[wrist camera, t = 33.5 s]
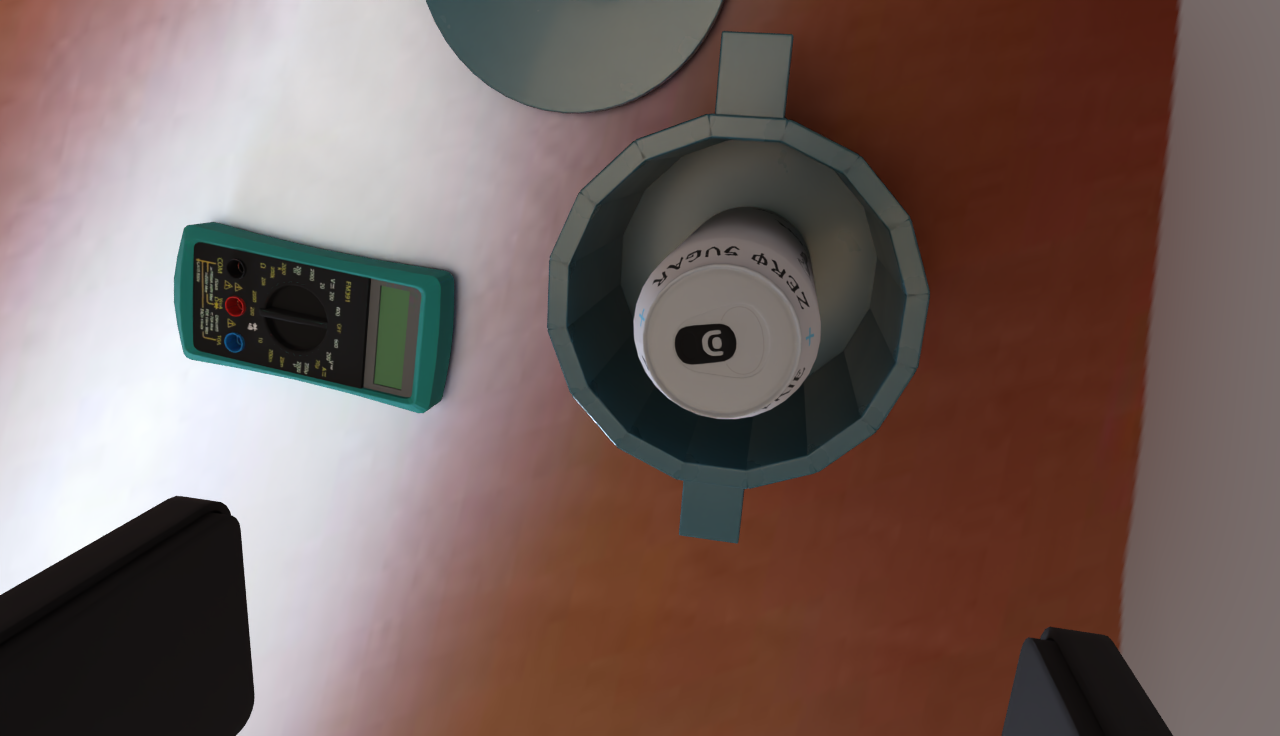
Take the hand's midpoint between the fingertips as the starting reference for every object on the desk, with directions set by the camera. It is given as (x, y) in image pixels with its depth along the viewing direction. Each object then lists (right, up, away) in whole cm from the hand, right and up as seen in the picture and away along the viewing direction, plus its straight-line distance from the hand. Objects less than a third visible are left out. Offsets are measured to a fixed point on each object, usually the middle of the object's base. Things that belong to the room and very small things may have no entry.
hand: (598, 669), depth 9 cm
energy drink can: (+6, +8, +29) cm, 31 cm away
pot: (+6, +8, +30) cm, 31 cm away
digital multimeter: (-16, +7, +34) cm, 39 cm away
